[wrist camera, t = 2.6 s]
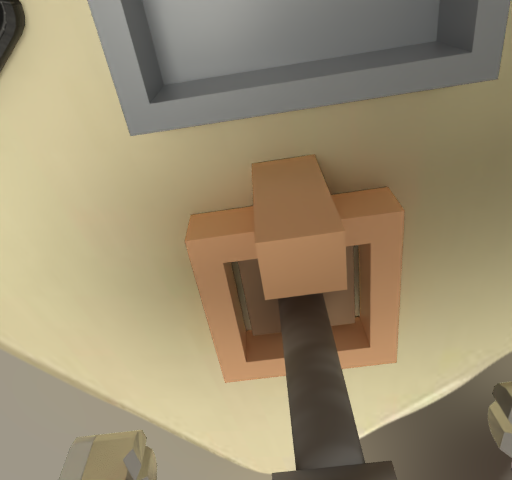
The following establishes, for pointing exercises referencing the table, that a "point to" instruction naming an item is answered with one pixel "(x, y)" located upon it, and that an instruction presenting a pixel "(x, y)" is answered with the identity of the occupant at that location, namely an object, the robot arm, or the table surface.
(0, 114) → the table surface
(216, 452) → the table surface
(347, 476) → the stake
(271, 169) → the ring
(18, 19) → the phone
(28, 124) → the table surface
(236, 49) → the tray
